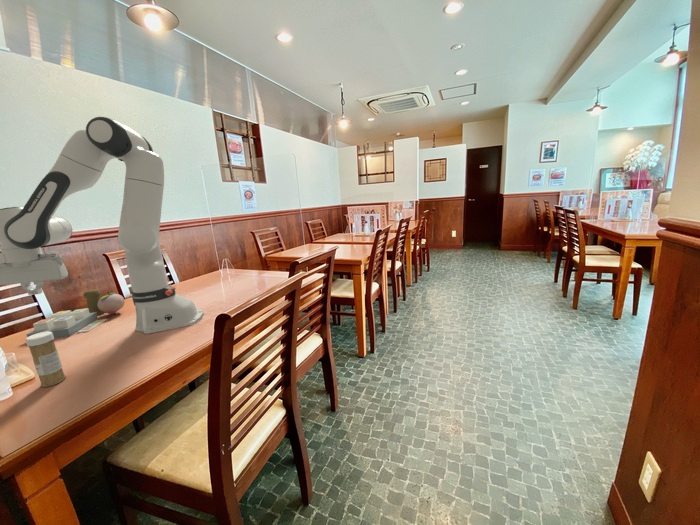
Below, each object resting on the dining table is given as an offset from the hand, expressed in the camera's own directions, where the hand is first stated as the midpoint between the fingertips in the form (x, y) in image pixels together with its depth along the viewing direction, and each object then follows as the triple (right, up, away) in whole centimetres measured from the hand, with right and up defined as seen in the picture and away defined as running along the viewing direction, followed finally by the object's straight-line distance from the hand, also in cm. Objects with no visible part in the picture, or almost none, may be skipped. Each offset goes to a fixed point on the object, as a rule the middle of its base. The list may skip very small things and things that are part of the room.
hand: (35, 294), depth 97 cm
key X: (+6, -13, +4) cm, 15 cm away
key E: (+4, -11, +12) cm, 17 cm away
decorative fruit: (+10, -11, +22) cm, 26 cm away
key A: (-1, -12, +11) cm, 16 cm away
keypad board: (+3, -15, +8) cm, 17 cm away
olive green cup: (+1, -12, +23) cm, 25 cm away
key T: (+1, -13, +3) cm, 14 cm away
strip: (+11, -14, +10) cm, 20 cm away
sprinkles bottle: (+34, -20, -25) cm, 47 cm away
